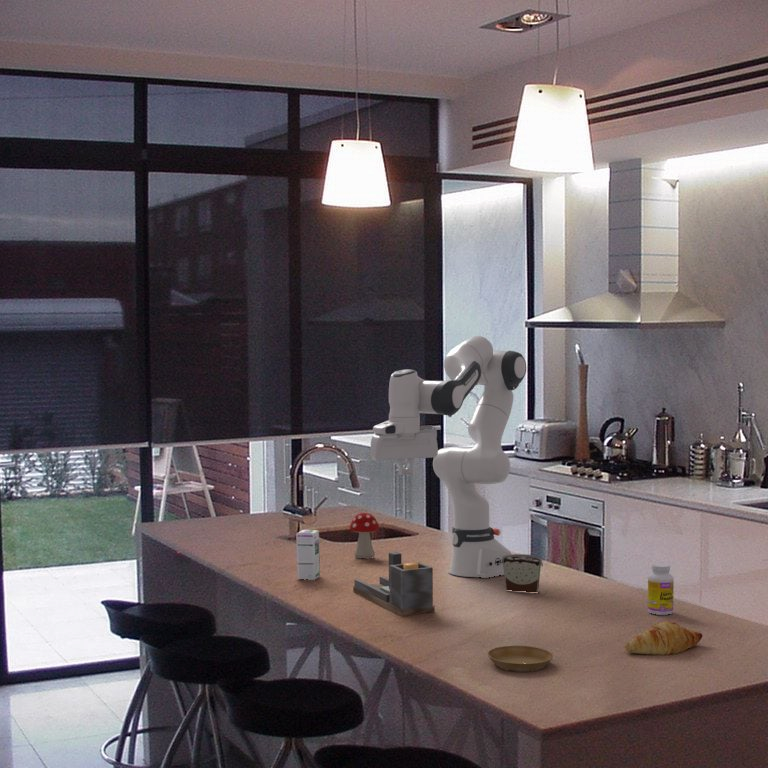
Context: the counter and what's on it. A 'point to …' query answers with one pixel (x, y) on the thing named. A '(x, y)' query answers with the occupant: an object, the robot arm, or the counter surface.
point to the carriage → (393, 560)
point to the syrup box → (308, 554)
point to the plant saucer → (520, 657)
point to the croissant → (663, 640)
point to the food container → (522, 572)
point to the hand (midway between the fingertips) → (404, 474)
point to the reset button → (410, 566)
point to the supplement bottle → (660, 590)
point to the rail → (402, 590)
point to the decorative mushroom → (364, 534)
